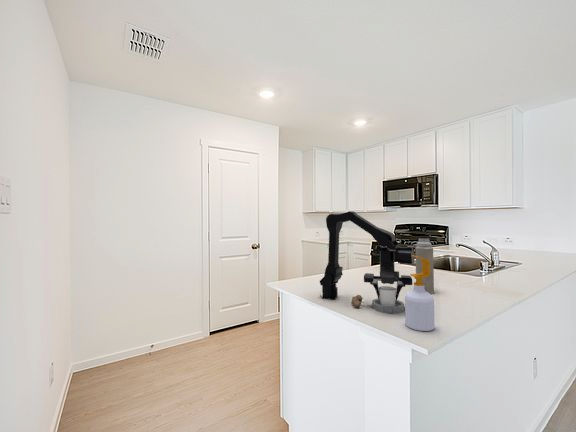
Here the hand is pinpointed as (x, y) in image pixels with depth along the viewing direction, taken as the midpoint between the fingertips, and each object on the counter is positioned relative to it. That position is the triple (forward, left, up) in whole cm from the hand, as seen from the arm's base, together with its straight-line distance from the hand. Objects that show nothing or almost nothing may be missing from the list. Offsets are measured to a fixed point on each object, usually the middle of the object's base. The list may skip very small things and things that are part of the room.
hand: (387, 299), depth 113 cm
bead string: (-13, +1, -3) cm, 13 cm away
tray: (0, 0, -3) cm, 3 cm away
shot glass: (0, 0, -2) cm, 2 cm away
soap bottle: (+10, -17, -4) cm, 20 cm away
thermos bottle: (+18, +30, -4) cm, 35 cm away
